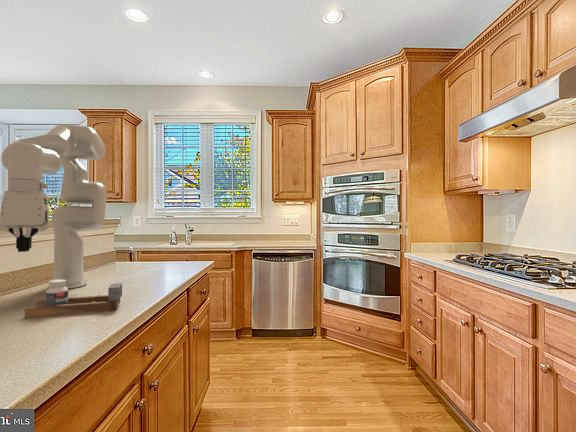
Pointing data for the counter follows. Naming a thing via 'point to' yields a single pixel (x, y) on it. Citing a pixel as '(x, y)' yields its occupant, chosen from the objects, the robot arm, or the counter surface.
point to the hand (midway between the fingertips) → (23, 251)
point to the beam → (79, 304)
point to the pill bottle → (57, 293)
